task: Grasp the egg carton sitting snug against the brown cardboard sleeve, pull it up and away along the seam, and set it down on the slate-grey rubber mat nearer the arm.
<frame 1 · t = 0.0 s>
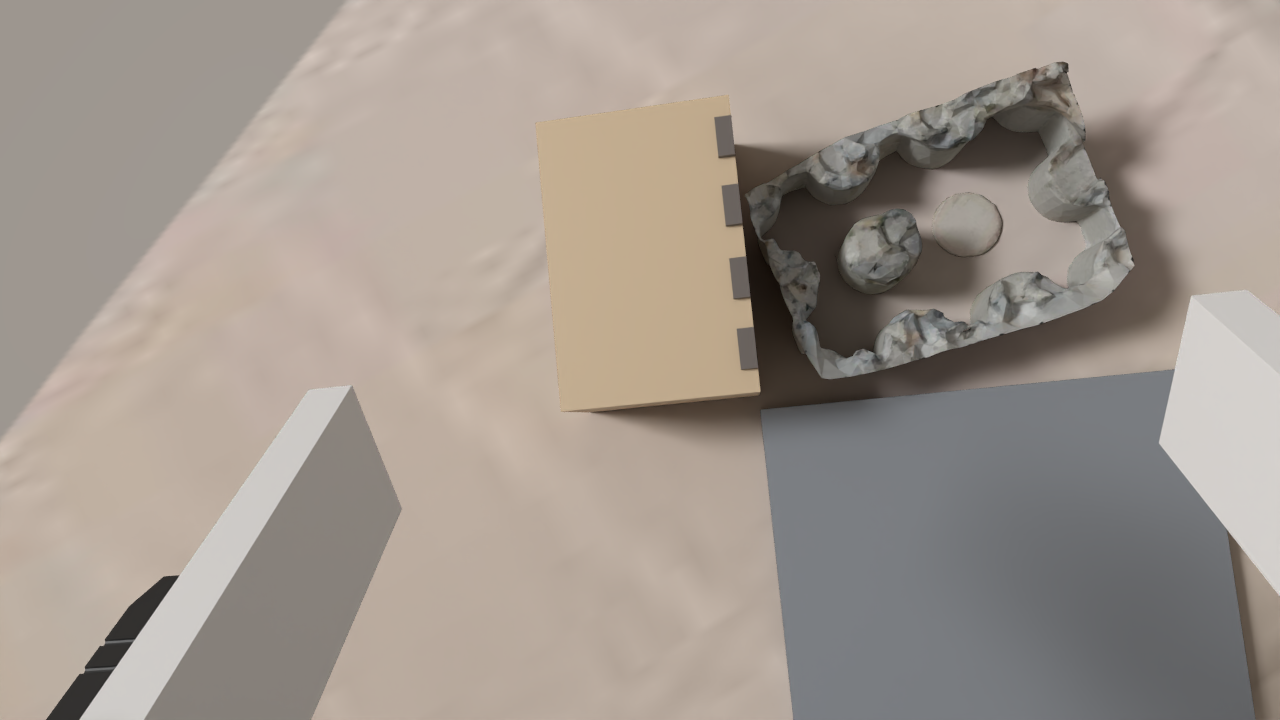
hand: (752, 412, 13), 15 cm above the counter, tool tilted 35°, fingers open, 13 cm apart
sleeve: (660, 277, 29), on the counter
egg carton: (918, 250, 29), on the counter
mat: (990, 555, 27), on the counter
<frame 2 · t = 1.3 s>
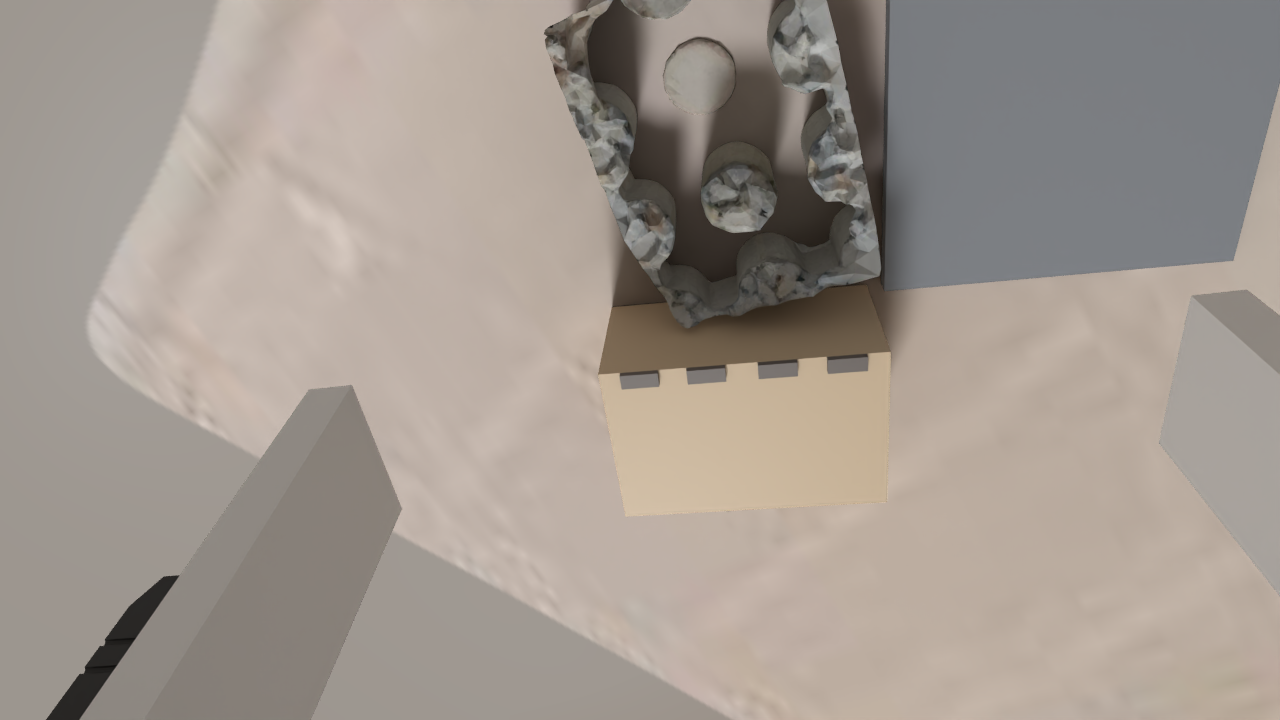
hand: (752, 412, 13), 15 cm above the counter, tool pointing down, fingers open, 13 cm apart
sleeve: (742, 367, 31), on the counter
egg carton: (723, 122, 26), on the counter
mat: (1076, 53, 24), on the counter
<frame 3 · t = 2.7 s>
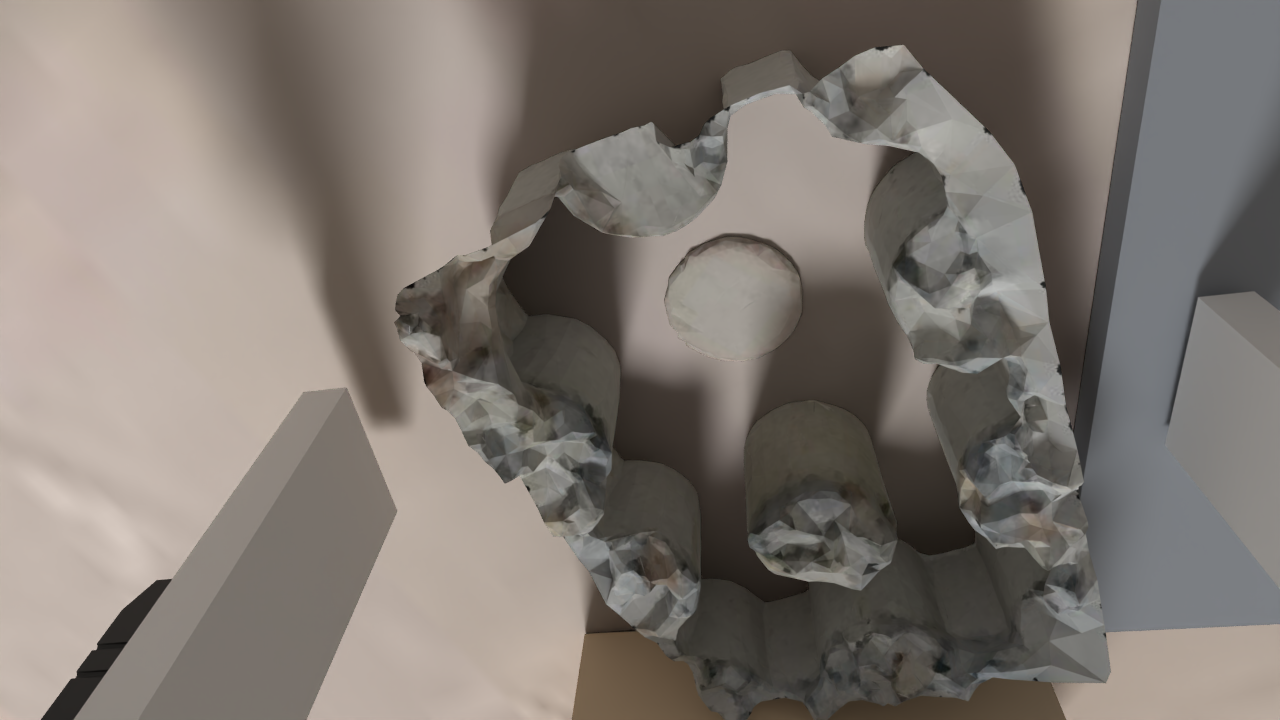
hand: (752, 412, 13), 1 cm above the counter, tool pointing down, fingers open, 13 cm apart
sleeve: (802, 712, 19), on the counter
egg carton: (780, 363, 14), on the counter
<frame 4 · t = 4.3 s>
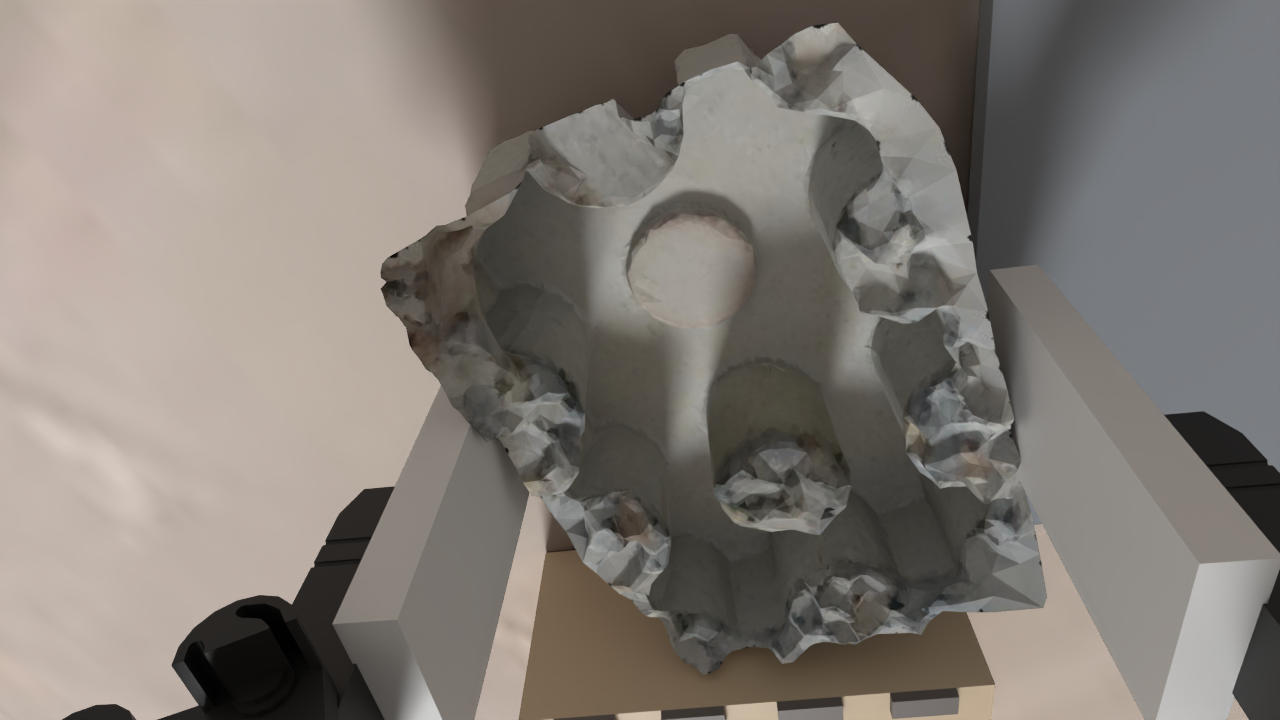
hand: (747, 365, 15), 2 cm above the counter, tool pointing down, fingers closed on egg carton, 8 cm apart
sleeve: (743, 620, 21), on the counter
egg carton: (737, 330, 15), point 1 cm above the counter, touching gripper
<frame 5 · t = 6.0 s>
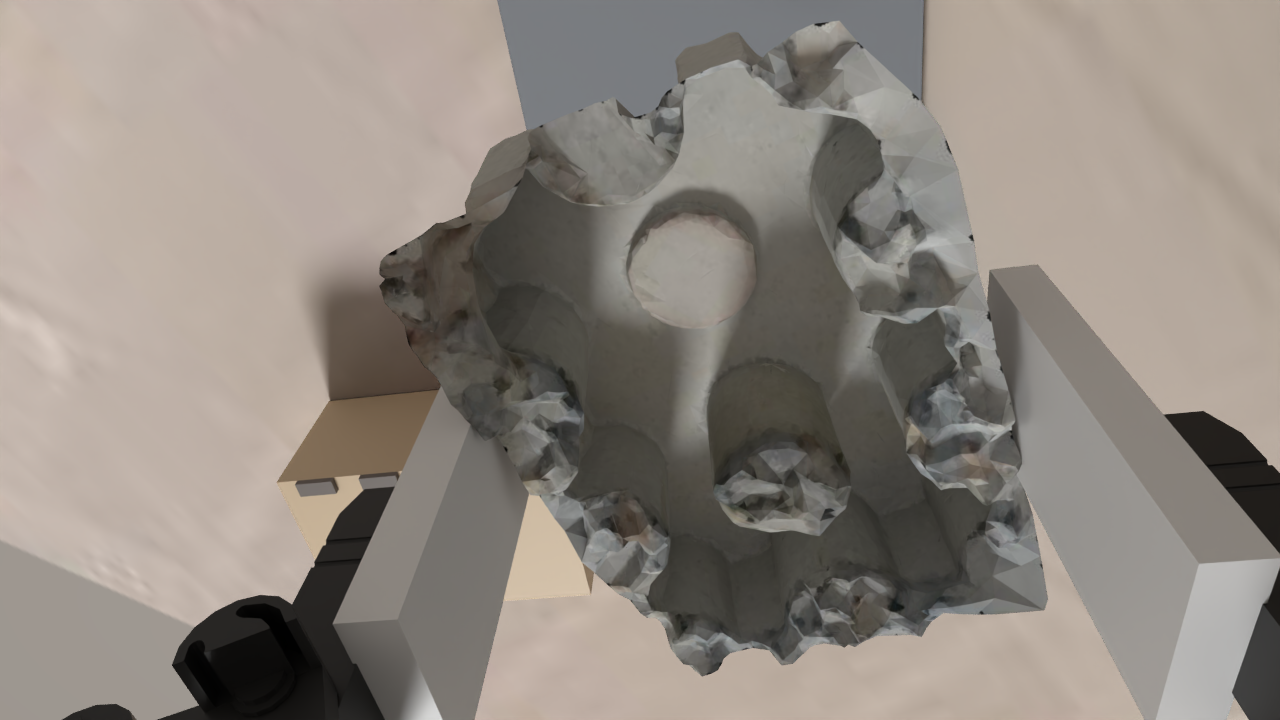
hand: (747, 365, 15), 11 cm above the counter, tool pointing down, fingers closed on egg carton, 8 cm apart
sleeve: (470, 454, 31), on the counter
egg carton: (738, 330, 15), point 10 cm above the counter, touching gripper
mat: (724, 158, 24), on the counter
when the fingers open (1 cm above the counter, at t = 7.7 s): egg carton stays where it is, resting on mat.
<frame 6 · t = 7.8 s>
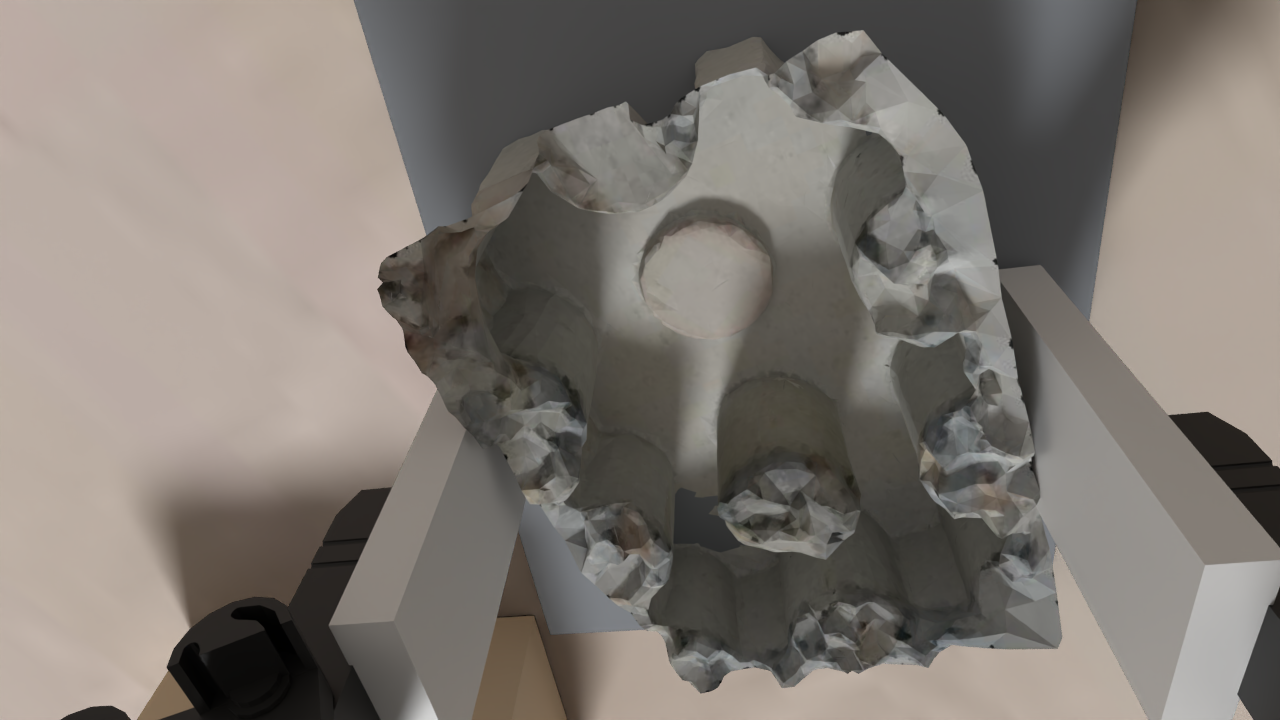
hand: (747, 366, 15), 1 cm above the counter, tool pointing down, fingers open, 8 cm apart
sleeve: (394, 702, 22), on the counter
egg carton: (752, 342, 15), resting on mat
mat: (763, 341, 15), on the counter
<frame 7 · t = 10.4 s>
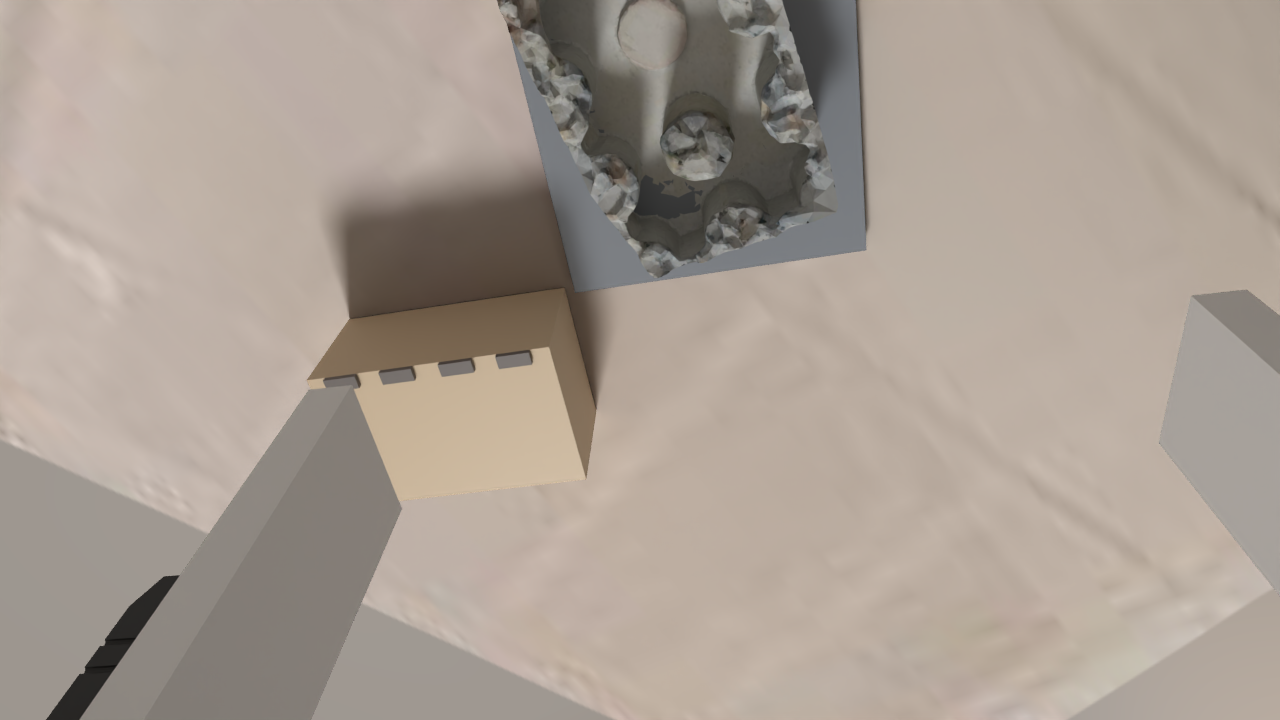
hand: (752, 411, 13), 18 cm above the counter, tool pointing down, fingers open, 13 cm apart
sleeve: (476, 366, 34), on the counter
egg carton: (680, 76, 27), resting on mat
mat: (689, 79, 28), on the counter
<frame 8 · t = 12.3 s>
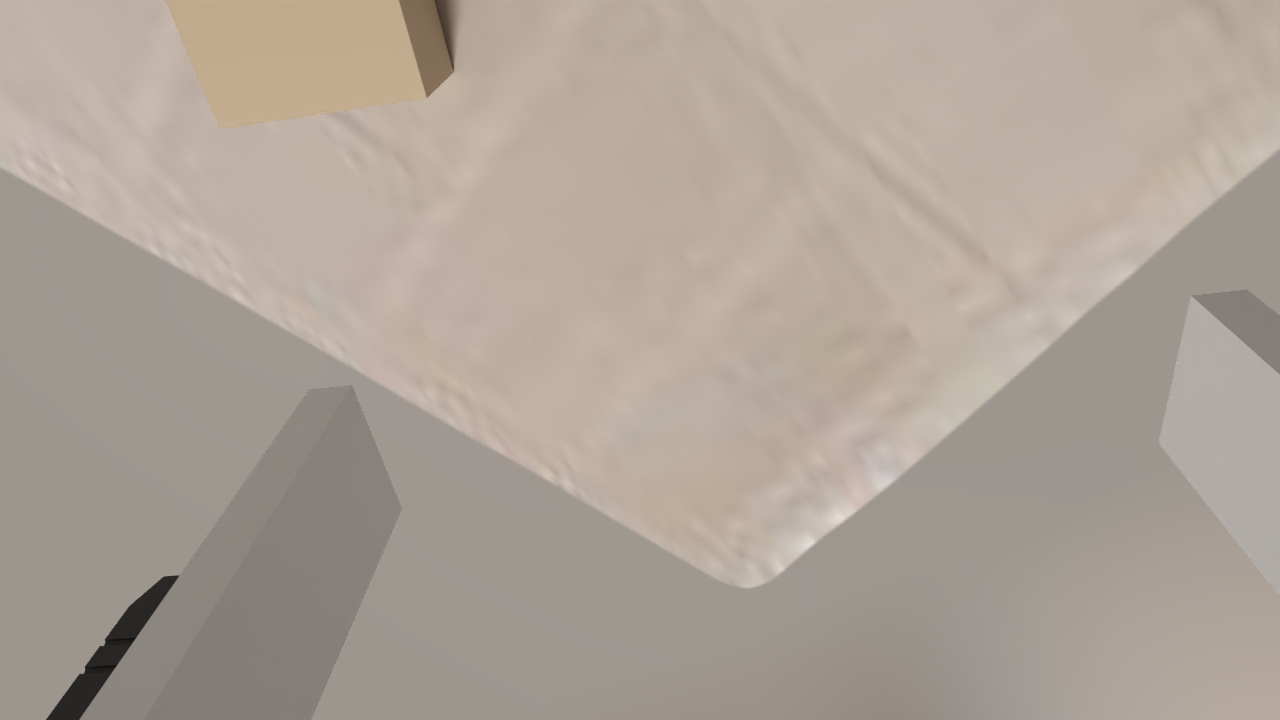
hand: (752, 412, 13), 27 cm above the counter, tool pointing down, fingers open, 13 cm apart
sleeve: (336, 17, 36), on the counter
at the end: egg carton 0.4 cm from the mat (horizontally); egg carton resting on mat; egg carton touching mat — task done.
